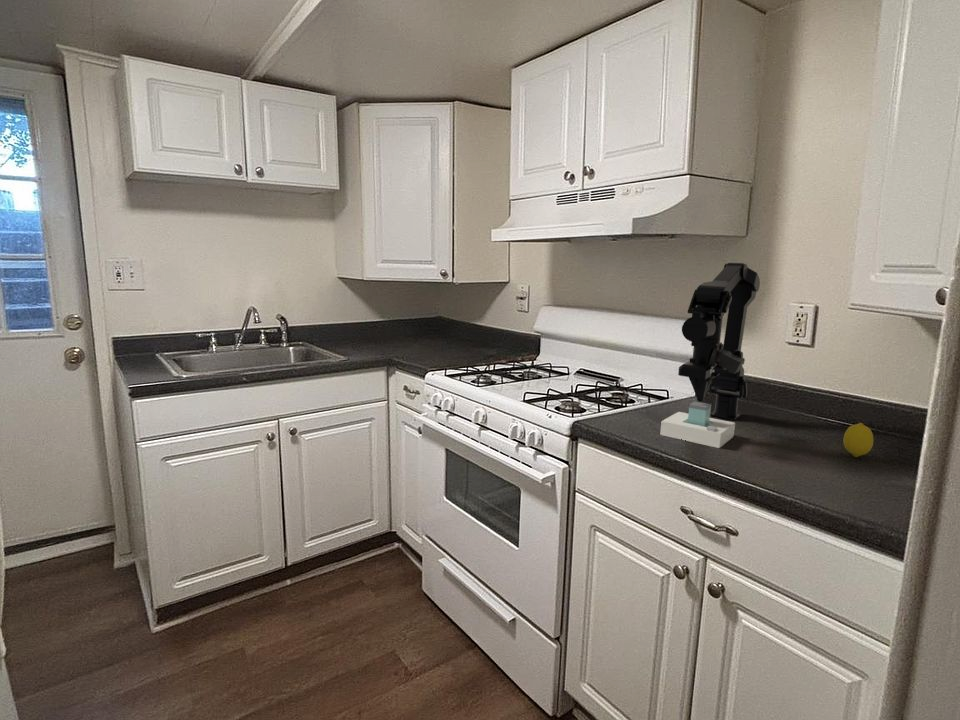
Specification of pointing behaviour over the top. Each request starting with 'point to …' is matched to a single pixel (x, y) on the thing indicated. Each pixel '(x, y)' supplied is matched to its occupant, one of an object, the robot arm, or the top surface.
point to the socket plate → (698, 430)
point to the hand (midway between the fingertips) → (700, 401)
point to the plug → (699, 414)
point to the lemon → (858, 439)
